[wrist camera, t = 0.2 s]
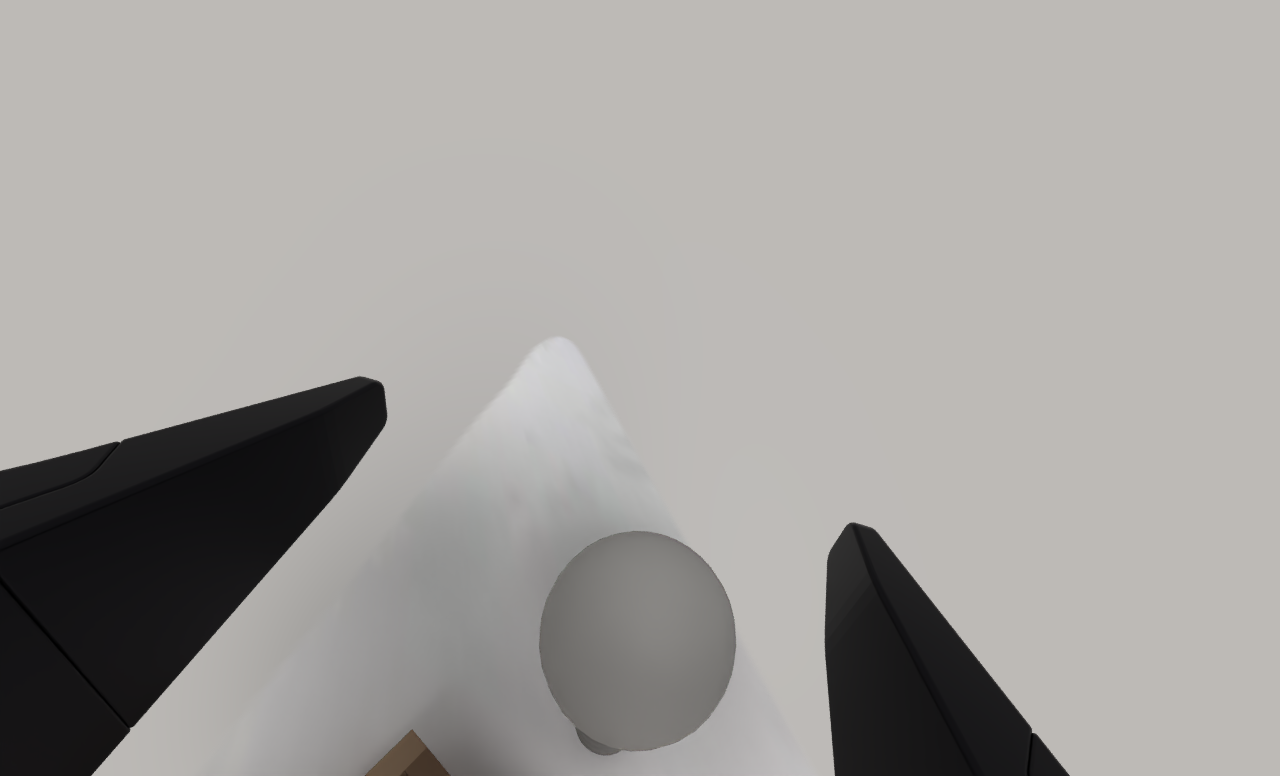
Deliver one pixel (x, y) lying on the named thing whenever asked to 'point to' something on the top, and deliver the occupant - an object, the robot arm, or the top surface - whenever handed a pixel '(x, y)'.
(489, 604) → the top surface
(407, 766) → the frame
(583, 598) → the lightbulb
